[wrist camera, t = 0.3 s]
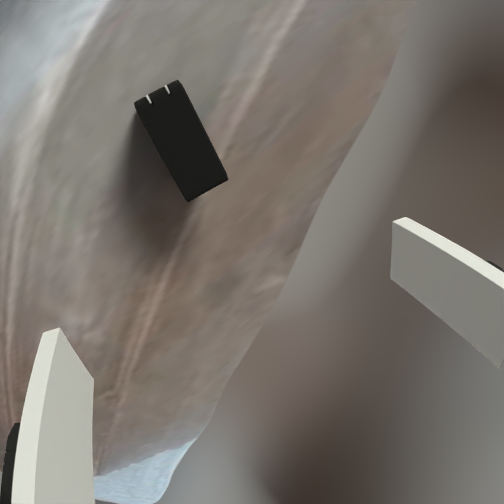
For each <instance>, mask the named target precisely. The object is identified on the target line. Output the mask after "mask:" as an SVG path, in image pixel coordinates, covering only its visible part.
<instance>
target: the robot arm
mask: <svg viewBox="0 0 504 504" xmlns="http://www.w3.org/2000/svg"><path fill="white" fill-rule="evenodd" d="M390 279H392V280H393V281H394V282H396V283H397V284H398V285H399V286H401V287H402V288H403V289H405V290H406V291H407V292H408V293H410V294H411V295H412V296H414V297H415V298H416V299H417V300H418V301H420V302H421V303H422V304H424V305H425V306H426V307H427V308H428V309H430V310H431V311H432V312H433V313H435V314H436V315H437V316H438V317H440V318H441V319H442V320H443V321H444V322H445V323H447V324H448V325H449V326H450V327H451V328H453V329H454V330H455V331H456V332H457V333H459V334H460V335H461V336H462V337H463V338H464V339H466V340H467V341H468V342H469V343H470V344H471V345H473V346H474V347H475V348H476V349H477V350H478V351H480V352H481V353H482V354H483V355H484V356H485V357H486V358H488V359H489V360H490V361H491V362H492V363H493V364H494V365H495V366H497V367H498V368H499V369H500V368H501V367H502V366H503V365H504V270H502V268H500V267H499V266H497V265H495V264H494V263H492V262H490V261H486V260H484V259H481V258H479V257H477V256H476V255H474V254H472V253H471V252H469V251H467V250H466V249H464V248H462V247H460V246H458V245H457V244H455V243H453V242H452V241H450V240H448V239H446V238H444V237H443V236H441V235H439V234H437V233H435V232H434V231H432V230H430V229H428V228H426V227H424V226H422V225H420V224H419V223H416V222H415V221H413V220H411V219H409V218H407V217H405V218H401V219H398V220H395V221H393V228H392V257H391V274H390ZM93 388H94V379H93V378H92V377H91V375H90V374H89V372H88V371H87V369H86V368H85V366H84V365H83V363H82V362H81V360H80V359H79V357H78V356H77V354H76V353H75V351H74V350H73V348H72V347H71V345H70V343H69V342H68V340H67V339H66V337H65V335H64V334H63V332H62V330H61V329H60V328H57V329H54V330H50V331H47V332H44V333H43V335H42V338H41V341H40V345H39V348H38V351H37V355H36V359H35V362H34V366H33V370H32V374H31V378H30V382H29V386H28V390H27V394H26V399H25V404H24V408H23V413H22V419H21V423H15V424H14V426H13V428H12V430H11V432H10V434H9V436H8V440H7V445H6V453H5V458H4V463H5V465H4V466H3V474H2V483H1V495H0V504H95V497H94V482H93V458H92V414H93Z"/></svg>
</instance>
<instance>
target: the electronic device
mask: <svg viewBox="0 0 504 504" xmlns="http://www.w3.org/2000/svg"><path fill="white" fill-rule="evenodd" d="M134 105H135V108H136V110H137V112H138V114H139V116H140V118H141V120H142V122H143V124H144V125H145V127H146V129H147V131H148V133H149V135H150V137H151V138H152V140H153V142H154V144H155V146H156V148H157V149H158V151H159V153H160V155H161V157H162V159H163V160H164V162H165V164H166V166H167V168H168V170H169V171H170V173H171V175H172V177H173V179H174V180H175V182H176V184H177V186H178V188H179V189H180V191H181V193H182V195H183V196H184V198H185V199H186V201H187V202H189V201H191V200H193V199H195V198H196V197H198V196H200V195H202V194H203V193H205V192H207V191H209V190H211V189H212V188H214V187H216V186H218V185H220V184H222V183H223V182H225V181H227V180H228V177H227V174H226V171H225V169H224V167H223V165H222V163H221V161H220V159H219V157H218V155H217V153H216V151H215V149H214V147H213V145H212V143H211V141H210V139H209V137H208V135H207V133H206V131H205V129H204V127H203V125H202V123H201V121H200V119H199V117H198V115H197V113H196V111H195V109H194V107H193V105H192V103H191V101H190V99H189V97H188V95H187V93H186V91H185V89H184V87H183V86H182V84H181V83H180V82H179V80H176V81H174V82H172V83H170V84H168V85H165V86H164V87H162V88H160V89H158V90H156V91H154V92H152V93H150V94H149V95H146V97H143V98H141V99H139V100H138V101H136V102H134Z"/></svg>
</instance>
